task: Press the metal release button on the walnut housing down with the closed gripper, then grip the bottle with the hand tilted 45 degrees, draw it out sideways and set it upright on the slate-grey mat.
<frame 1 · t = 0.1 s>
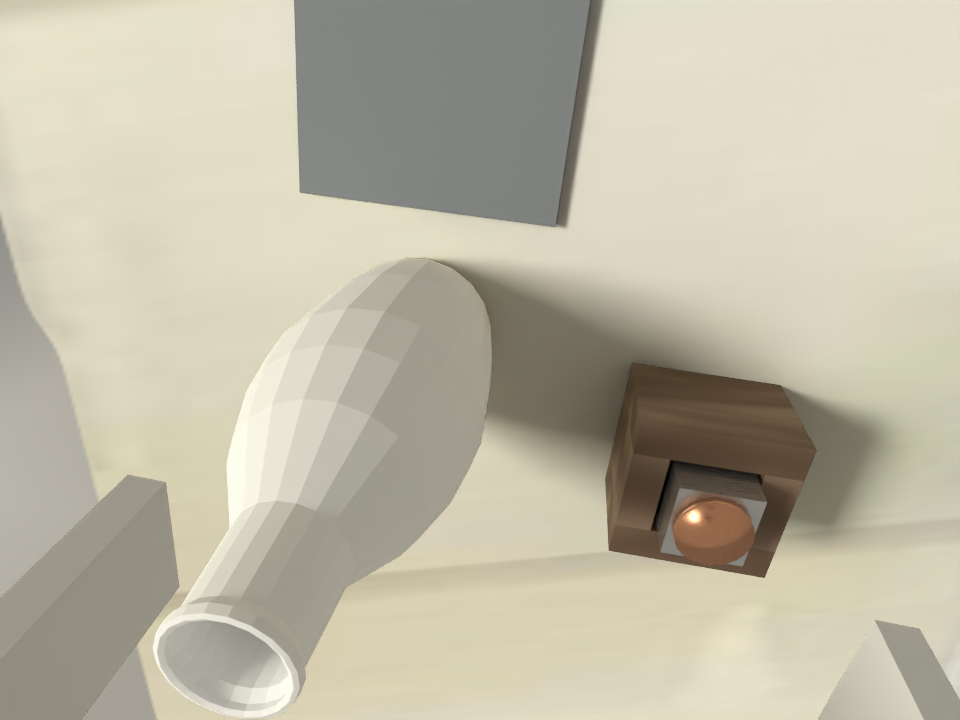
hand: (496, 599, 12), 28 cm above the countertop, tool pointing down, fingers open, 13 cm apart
bottle: (421, 322, 41), on the countertop
release button: (705, 501, 36), point 7 cm above the countertop, slide at 0.0 cm
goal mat: (436, 66, 34), on the countertop
button housing: (687, 434, 42), on the countertop
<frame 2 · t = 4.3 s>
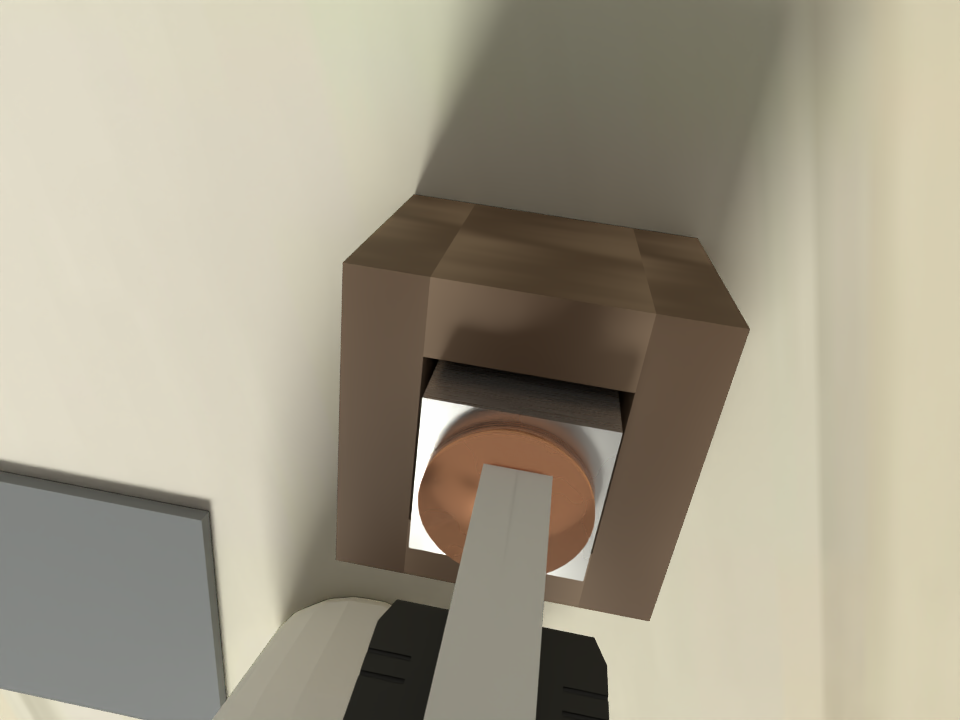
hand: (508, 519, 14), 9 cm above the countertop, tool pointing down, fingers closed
bottle: (370, 657, 31), on the countertop
release button: (515, 442, 17), point 6 cm above the countertop, slide at 0.7 cm, touching gripper
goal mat: (74, 600, 32), on the countertop
button housing: (531, 343, 22), on the countertop
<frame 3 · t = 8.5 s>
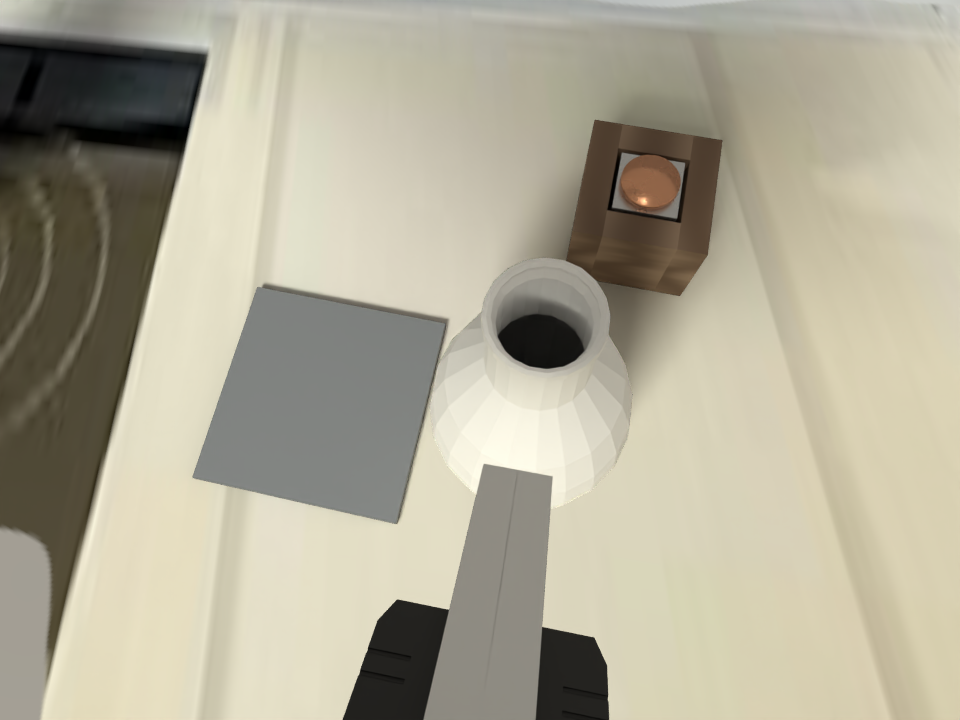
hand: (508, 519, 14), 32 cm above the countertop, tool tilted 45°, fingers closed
bottle: (523, 442, 47), on the countertop
release button: (642, 201, 47), point 5 cm above the countertop, slide at 2.0 cm
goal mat: (324, 400, 48), on the countertop
button housing: (629, 233, 51), on the countertop
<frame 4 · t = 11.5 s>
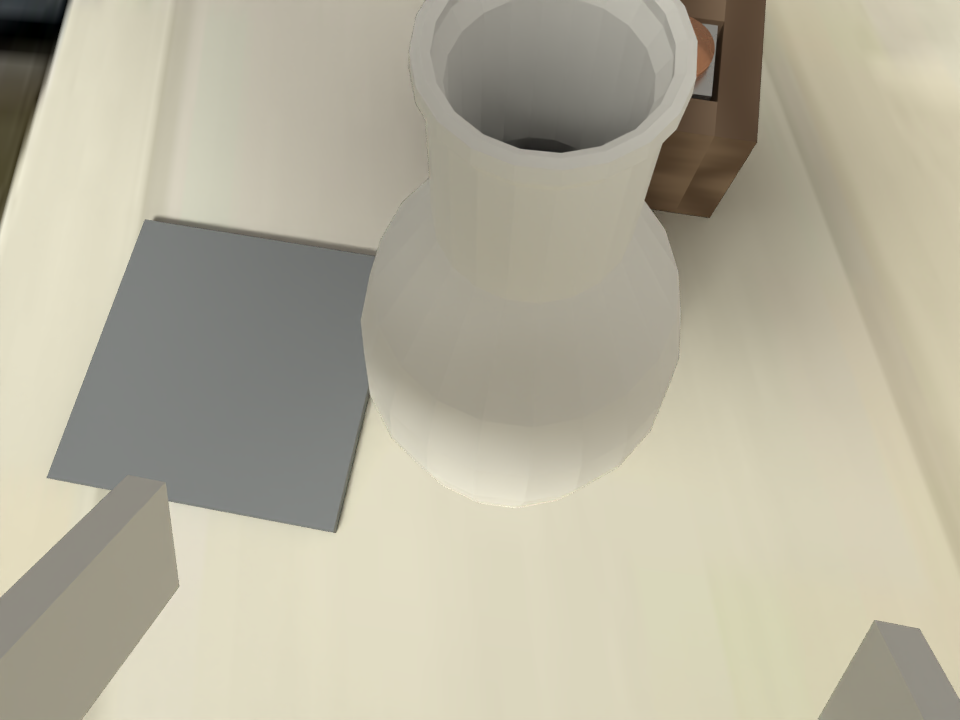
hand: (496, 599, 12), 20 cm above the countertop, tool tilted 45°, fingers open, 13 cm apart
bottle: (508, 415, 34), on the countertop
release button: (659, 85, 35), point 5 cm above the countertop, slide at 2.0 cm
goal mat: (235, 366, 35), on the countertop
button housing: (639, 141, 39), on the countertop
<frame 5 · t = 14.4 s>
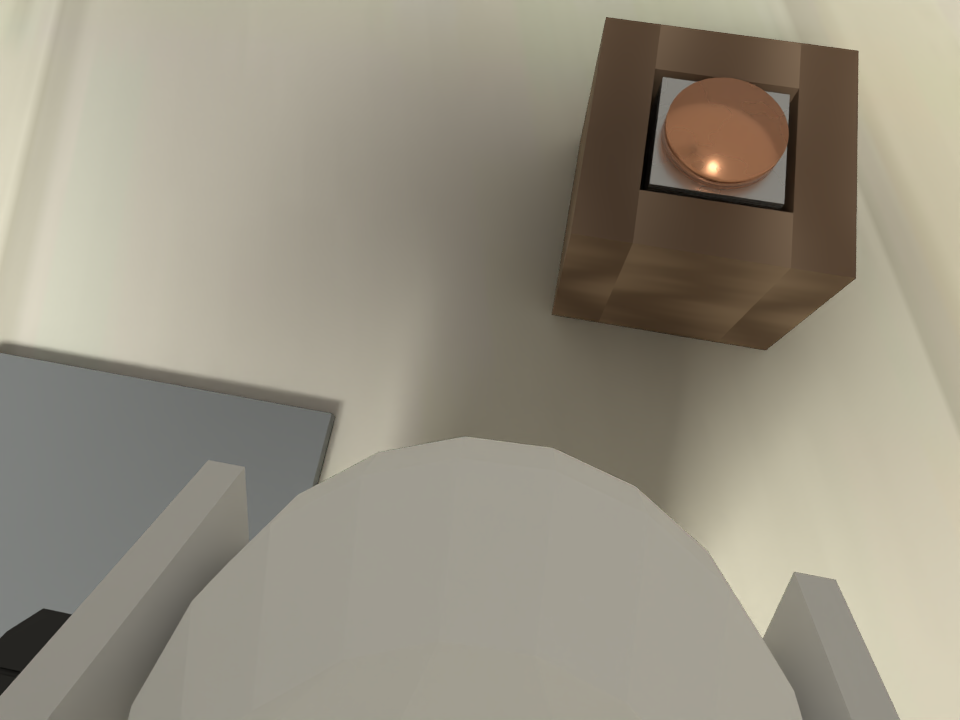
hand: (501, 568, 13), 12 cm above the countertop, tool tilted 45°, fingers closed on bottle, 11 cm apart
bottle: (482, 650, 24), on the countertop, touching gripper
release button: (701, 175, 24), point 5 cm above the countertop, slide at 2.0 cm
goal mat: (95, 571, 25), on the countertop
button housing: (667, 238, 29), on the countertop
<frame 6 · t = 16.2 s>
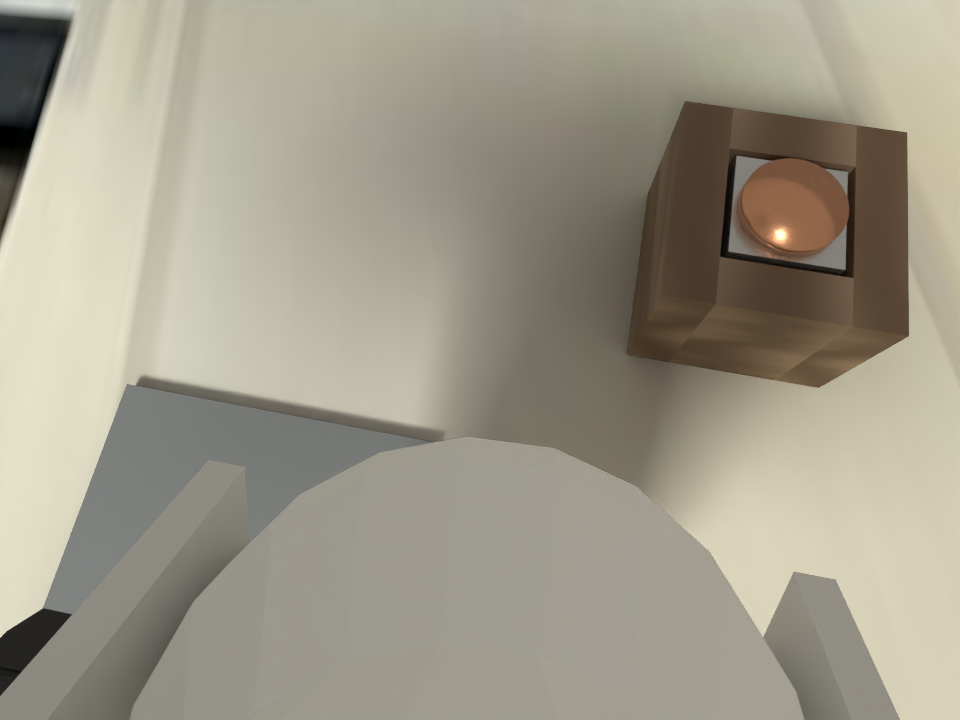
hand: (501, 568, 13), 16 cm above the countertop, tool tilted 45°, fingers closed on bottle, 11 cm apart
bottle: (482, 650, 24), point 4 cm above the countertop, touching gripper
release button: (767, 238, 28), point 5 cm above the countertop, slide at 2.0 cm
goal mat: (234, 580, 28), on the countertop
button housing: (728, 285, 32), on the countertop
when the fingers open (14 cm above the countertop, at t = 18.5 s): bottle stays where it is, resting on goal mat.
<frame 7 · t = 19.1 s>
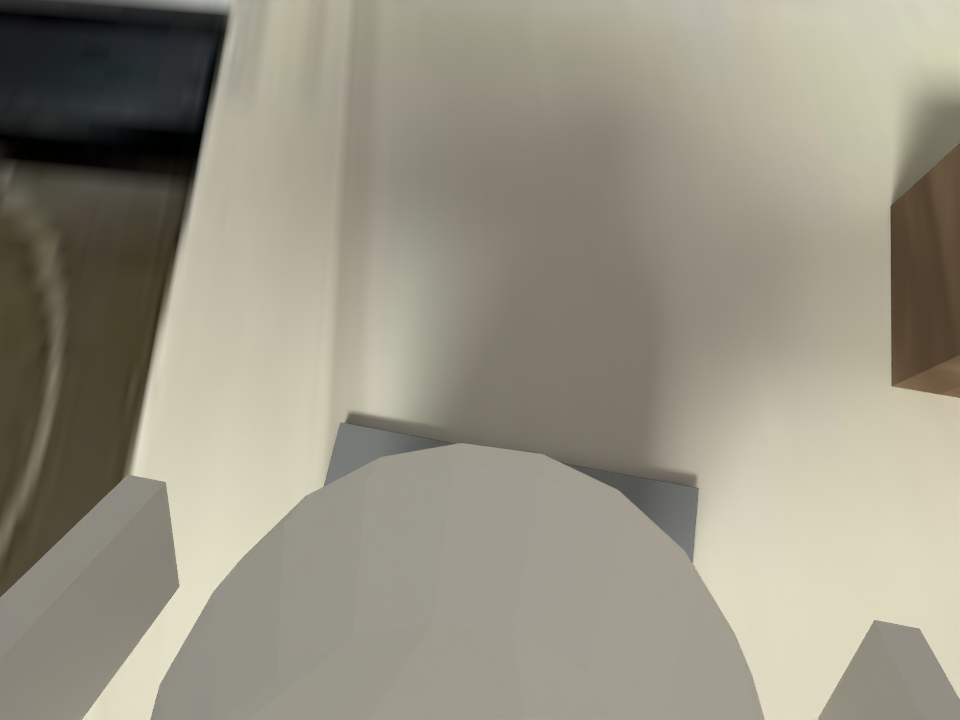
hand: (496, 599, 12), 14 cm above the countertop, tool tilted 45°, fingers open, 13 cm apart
bottle: (478, 646, 25), resting on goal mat
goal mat: (482, 646, 25), on the countertop
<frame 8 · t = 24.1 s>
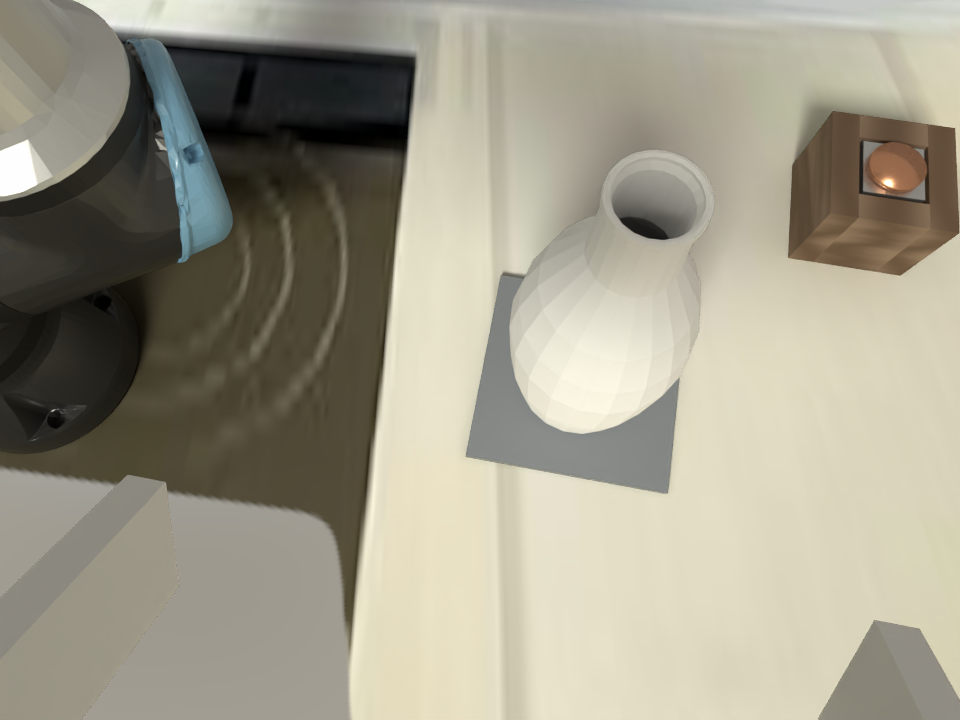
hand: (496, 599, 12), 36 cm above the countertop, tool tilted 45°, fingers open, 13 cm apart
bottle: (577, 377, 50), resting on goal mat
release button: (877, 186, 50), point 5 cm above the countertop, slide at 2.0 cm
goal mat: (578, 379, 51), on the countertop
button housing: (844, 218, 55), on the countertop
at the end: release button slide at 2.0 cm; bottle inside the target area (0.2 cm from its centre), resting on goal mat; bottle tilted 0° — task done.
